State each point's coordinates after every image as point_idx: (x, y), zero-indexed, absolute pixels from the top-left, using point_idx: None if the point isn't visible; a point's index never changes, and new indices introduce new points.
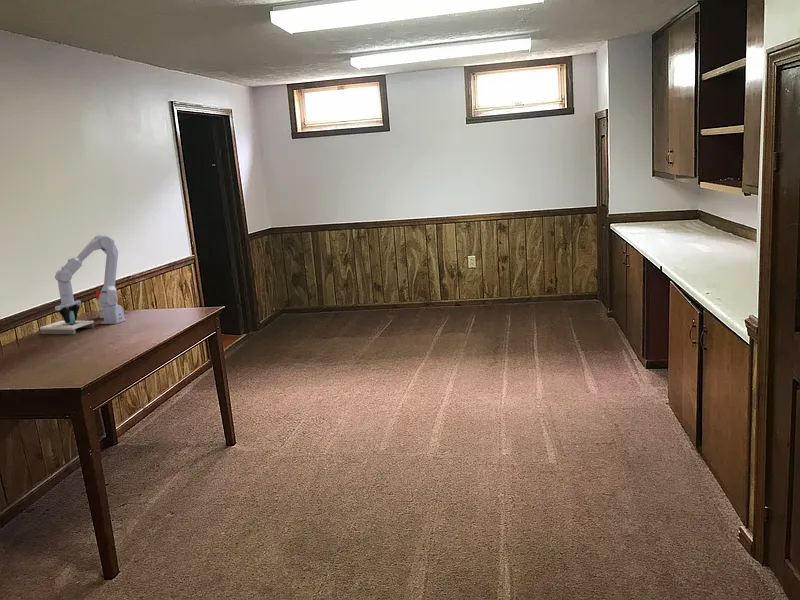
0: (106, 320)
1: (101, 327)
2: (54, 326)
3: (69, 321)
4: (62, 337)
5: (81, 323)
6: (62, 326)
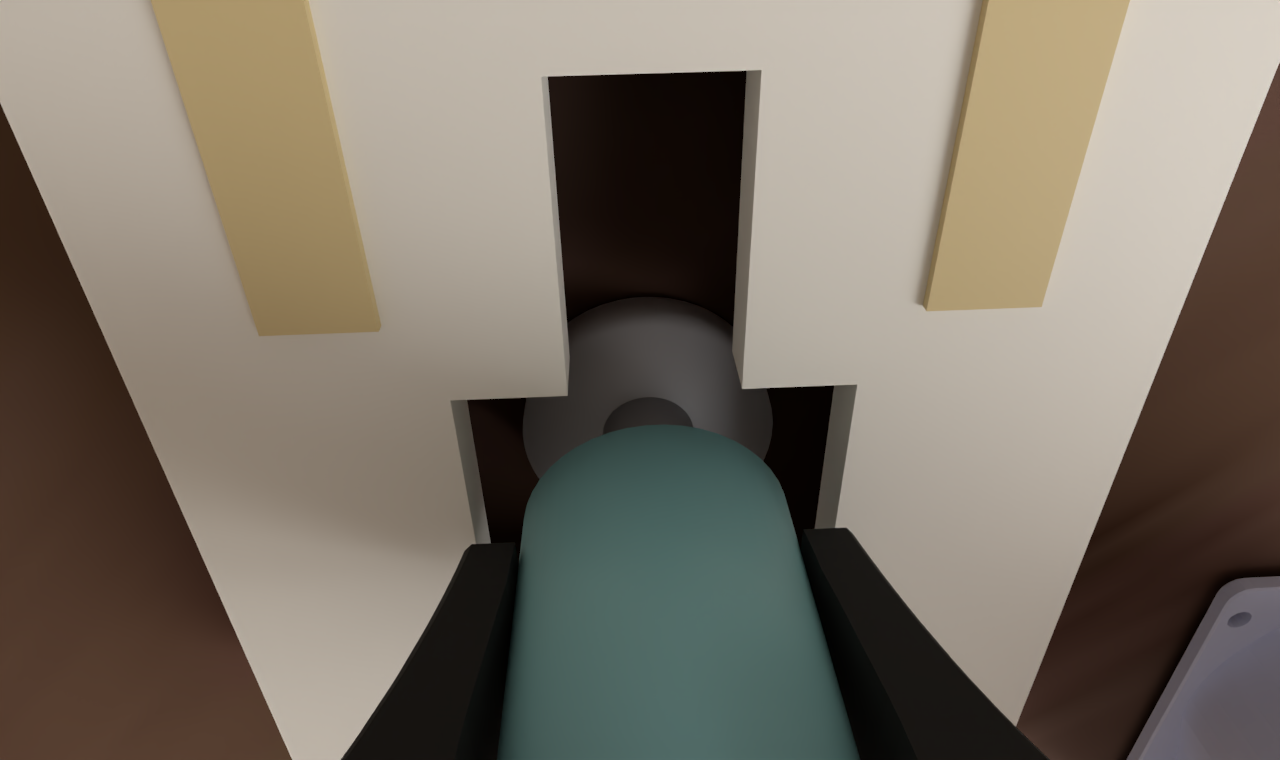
0: (1223, 740)
1: None
2: (206, 208)
3: None
4: (83, 650)
5: None
6: (311, 517)
